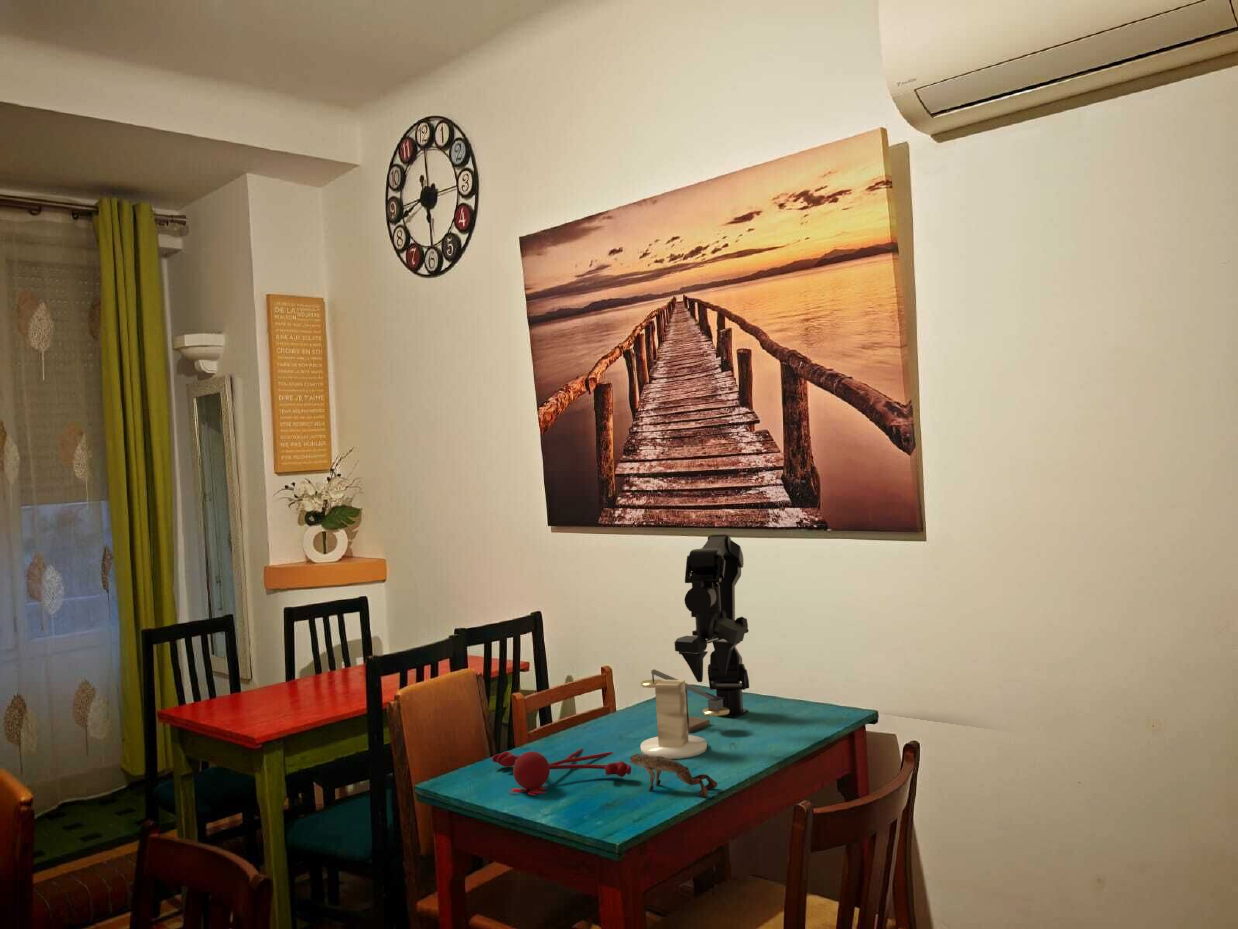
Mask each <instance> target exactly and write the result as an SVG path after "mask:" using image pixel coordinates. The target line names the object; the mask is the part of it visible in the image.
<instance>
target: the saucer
mask: <svg viewBox="0 0 1238 929" xmlns="http://www.w3.org/2000/svg"><path fill="white" fill-rule="evenodd" d="M707 746H708V745H707V740H706V739H704V738H703V737H701V736H697V735H692V734H688V742H687V743H686V744H684V745H683V746H682V747H662V746H659V744H658V736H654V737H653V736H652V737H650V738H648V739H644V740H643V741H642V742H641V743H640V754H642V755H648V756H654V757H657V756H661V757H665V758H668V759H671V760H679V759H685V758H686V759H687V758H691V757H696V756H698V755H701V754H704V753H705V752H706V751H707V750H708V749H707V748H708V747H707Z"/></svg>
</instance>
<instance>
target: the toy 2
mask: <svg viewBox="0 0 1238 929" xmlns="http://www.w3.org/2000/svg"><path fill="white" fill-rule="evenodd" d="M629 762H630V764H633V765H634V766H637V767H643V768H644V769H645V770H646V772H647V773H648V774H649V775H650V776H649V779H650V784H649V785H650V786H649V788H648V790H647V791H648V792H653V791H654V786H656V787H658V786H660V785H661V781H662V780H661V779H660V775H661V774H662V772H669V773H675V774H676V778H678V779H679V780H680V781H681V782H683V783H685V784H688V785H689V786H696V785H700V788H701V789H700V790H698V792H697V796H698V797H699V798H705V797H706V796H708V792H709V790H713V789H715V788H717V786H718V782H717V781H716V780H714V779H713V778H711V777H710V776H709V775H708V774H705V773H702V774H698V775H695V776H692V774H691V771H690V769H689V767H688V766H684V765H683V764H681V763H680V762H678V761H676V760H675V759H668V758H665V757H661V756H657V757H654V756H648V755H643V754H642V753H635V754H632V755H630V757H629ZM654 771H656V773H655V772H654ZM654 780H655V781H656V782H655V785H654ZM703 780H707V782H708V783H707V784H706V785H705V784H704V782H703Z"/></svg>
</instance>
